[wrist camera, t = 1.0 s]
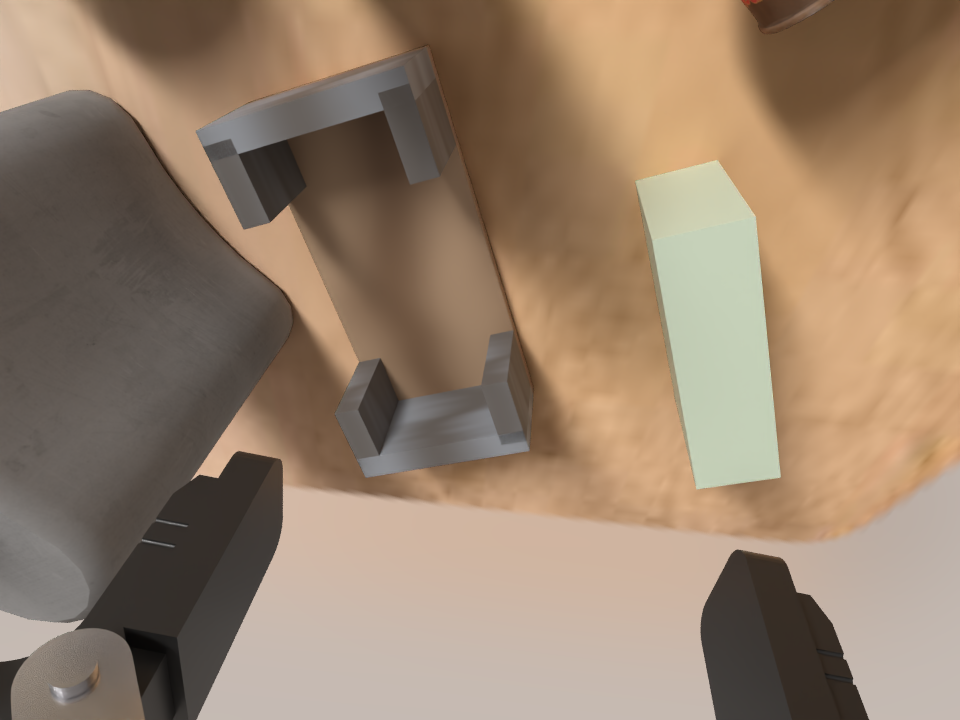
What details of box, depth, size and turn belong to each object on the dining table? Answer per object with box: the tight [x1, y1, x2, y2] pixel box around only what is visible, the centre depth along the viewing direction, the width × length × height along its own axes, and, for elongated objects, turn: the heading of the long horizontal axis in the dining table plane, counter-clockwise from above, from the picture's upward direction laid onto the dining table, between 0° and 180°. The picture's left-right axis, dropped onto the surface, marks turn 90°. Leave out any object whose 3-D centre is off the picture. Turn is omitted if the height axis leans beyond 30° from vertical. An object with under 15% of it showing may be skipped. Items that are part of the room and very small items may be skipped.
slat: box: [635, 160, 781, 489], centre depth 30 cm, size 4×12×7 cm, turn 16°
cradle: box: [196, 45, 534, 478], centre depth 31 cm, size 8×17×5 cm, turn 16°
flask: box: [0, 90, 293, 623], centre depth 25 cm, size 15×6×20 cm, turn 34°
